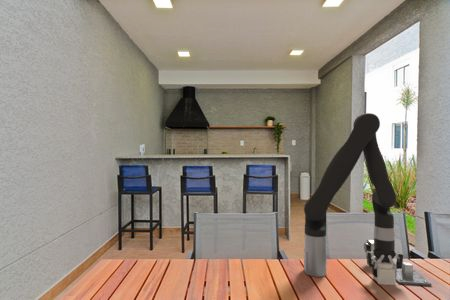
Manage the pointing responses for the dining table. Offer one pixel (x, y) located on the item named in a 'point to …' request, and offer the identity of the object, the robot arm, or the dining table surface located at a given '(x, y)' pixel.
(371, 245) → the pneumatic valve
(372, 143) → the robot arm
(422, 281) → the shaft mount
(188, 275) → the dining table surface
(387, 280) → the knob
